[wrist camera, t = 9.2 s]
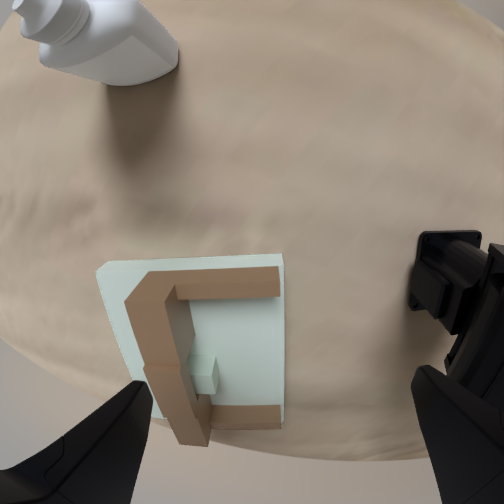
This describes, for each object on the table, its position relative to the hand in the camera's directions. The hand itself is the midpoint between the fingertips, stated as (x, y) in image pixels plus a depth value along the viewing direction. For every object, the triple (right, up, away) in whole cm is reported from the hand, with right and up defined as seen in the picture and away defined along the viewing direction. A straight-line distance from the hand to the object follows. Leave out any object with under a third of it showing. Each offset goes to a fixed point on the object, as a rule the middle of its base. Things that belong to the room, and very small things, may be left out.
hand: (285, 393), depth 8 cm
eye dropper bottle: (-8, +17, +7) cm, 20 cm away
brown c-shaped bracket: (-3, -3, +12) cm, 13 cm away
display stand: (-6, -4, +14) cm, 16 cm away
